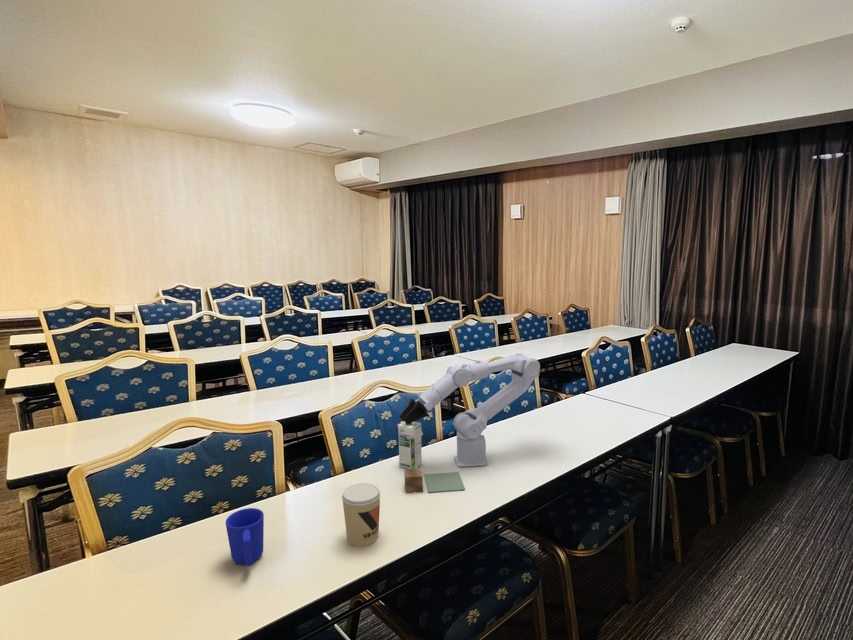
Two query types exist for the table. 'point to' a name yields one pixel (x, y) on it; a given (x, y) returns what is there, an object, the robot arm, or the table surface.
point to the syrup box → (410, 445)
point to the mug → (246, 535)
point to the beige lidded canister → (361, 513)
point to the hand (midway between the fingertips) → (403, 420)
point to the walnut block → (413, 480)
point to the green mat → (444, 482)
